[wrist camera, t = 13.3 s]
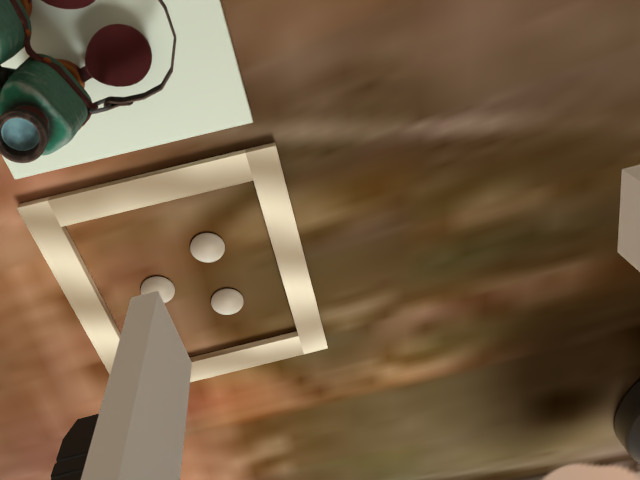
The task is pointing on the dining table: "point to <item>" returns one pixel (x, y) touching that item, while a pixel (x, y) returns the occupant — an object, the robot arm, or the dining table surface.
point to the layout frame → (179, 182)
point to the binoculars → (63, 81)
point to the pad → (159, 109)
